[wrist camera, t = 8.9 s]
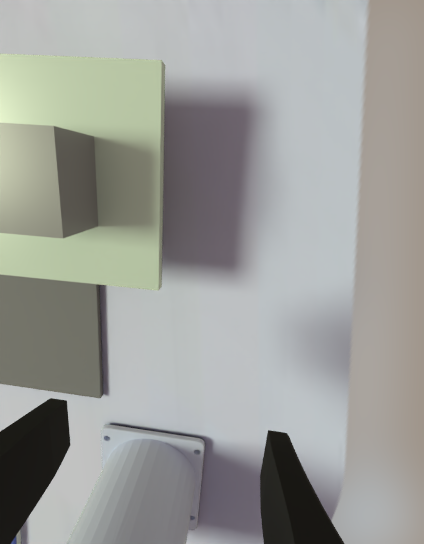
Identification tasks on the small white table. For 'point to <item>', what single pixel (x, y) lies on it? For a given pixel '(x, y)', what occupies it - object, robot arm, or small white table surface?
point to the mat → (50, 335)
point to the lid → (82, 169)
